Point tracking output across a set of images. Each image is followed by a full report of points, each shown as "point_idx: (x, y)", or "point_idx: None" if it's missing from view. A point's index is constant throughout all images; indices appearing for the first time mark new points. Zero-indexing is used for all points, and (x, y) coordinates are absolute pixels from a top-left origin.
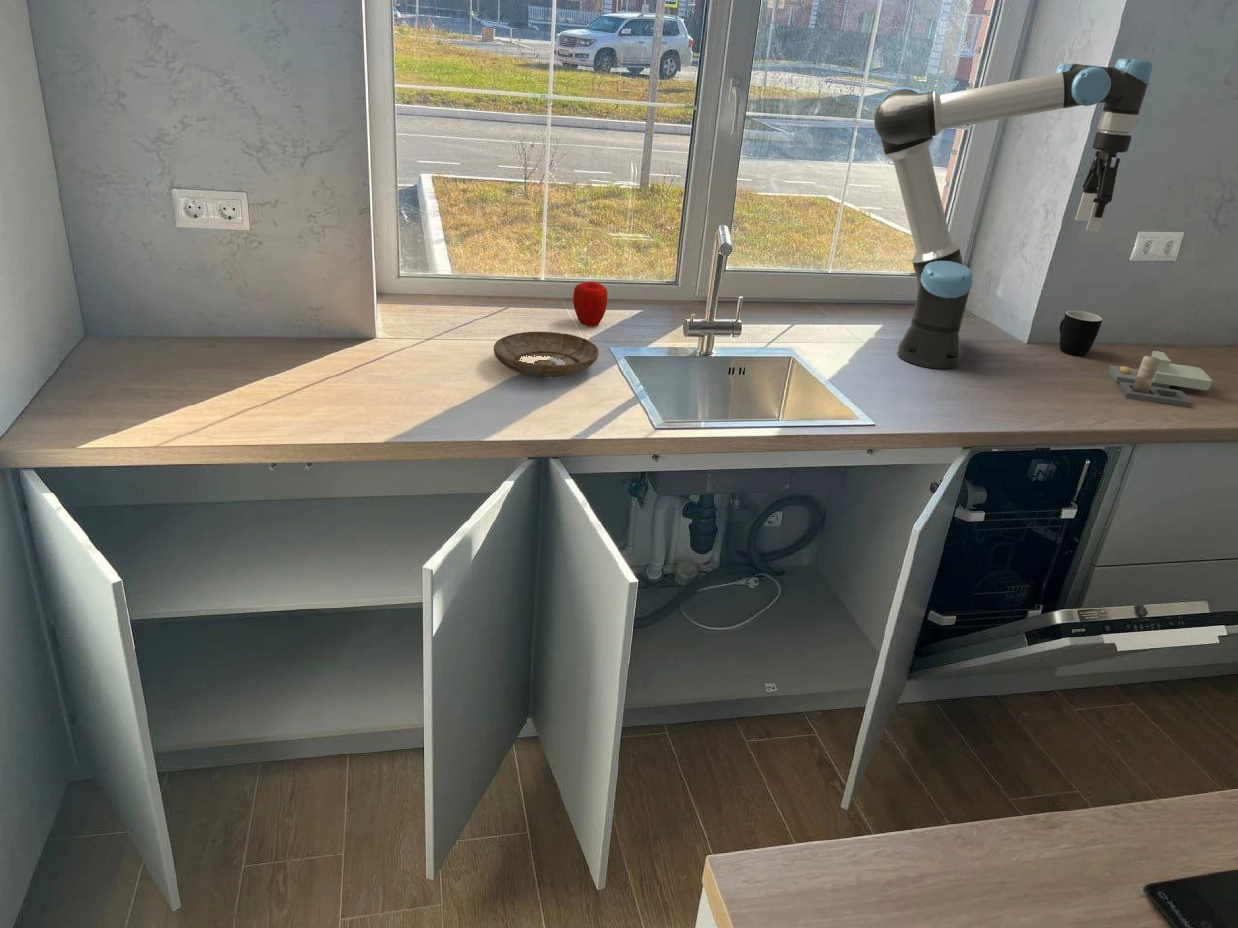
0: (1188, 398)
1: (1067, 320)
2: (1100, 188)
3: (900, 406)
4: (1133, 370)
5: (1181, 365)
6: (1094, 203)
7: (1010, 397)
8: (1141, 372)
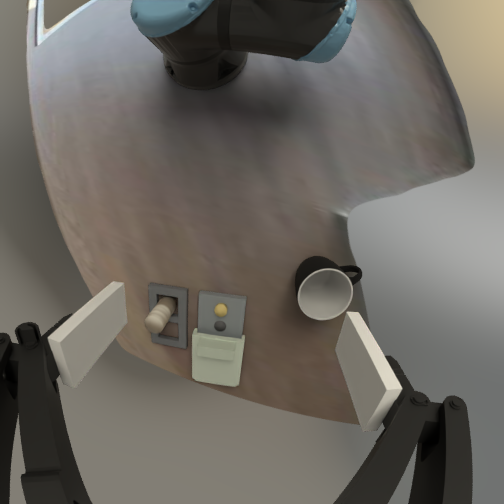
0: (163, 344)
1: (317, 266)
2: (20, 394)
3: (64, 50)
4: (235, 322)
5: (238, 372)
6: (55, 336)
7: (101, 143)
8: (154, 308)
